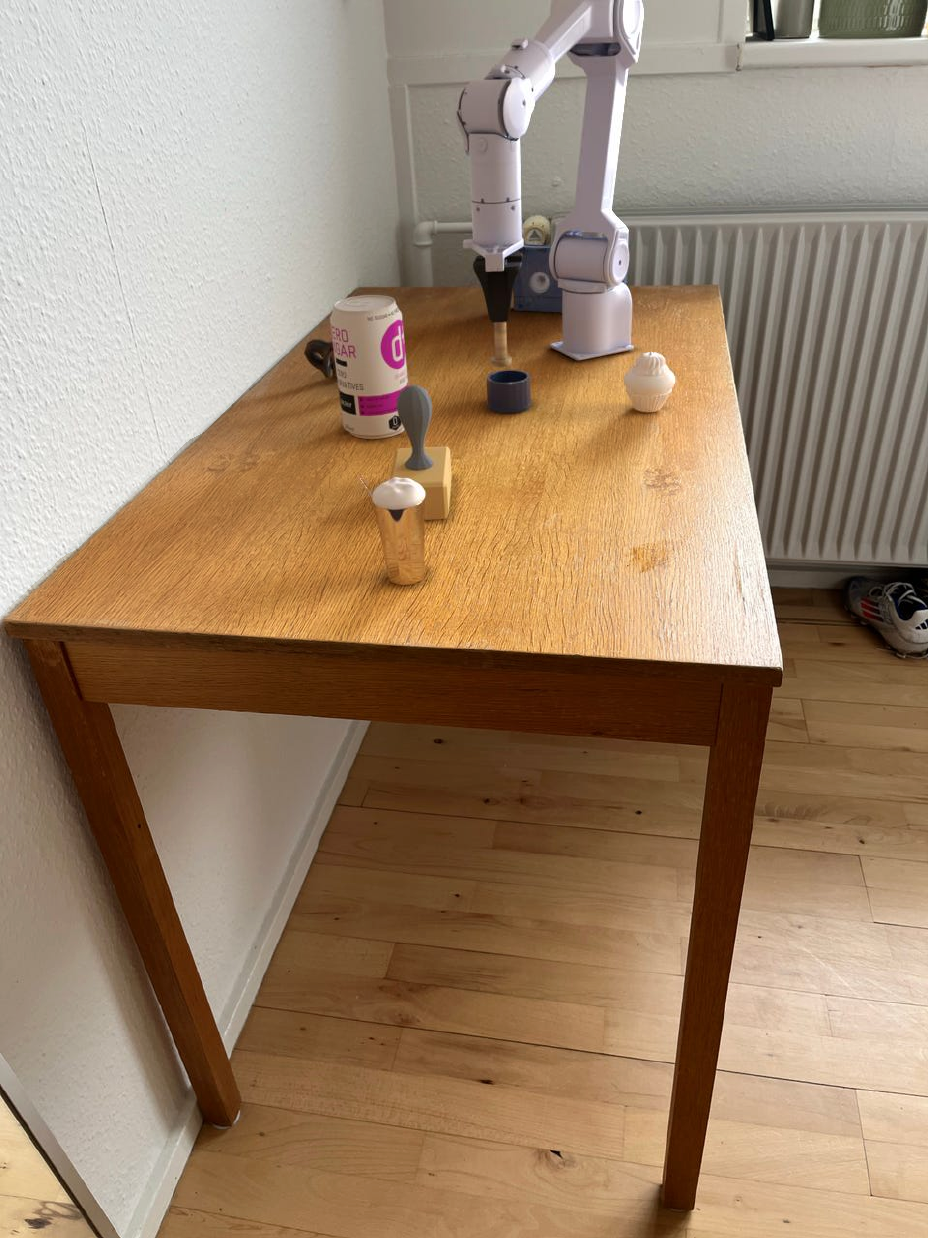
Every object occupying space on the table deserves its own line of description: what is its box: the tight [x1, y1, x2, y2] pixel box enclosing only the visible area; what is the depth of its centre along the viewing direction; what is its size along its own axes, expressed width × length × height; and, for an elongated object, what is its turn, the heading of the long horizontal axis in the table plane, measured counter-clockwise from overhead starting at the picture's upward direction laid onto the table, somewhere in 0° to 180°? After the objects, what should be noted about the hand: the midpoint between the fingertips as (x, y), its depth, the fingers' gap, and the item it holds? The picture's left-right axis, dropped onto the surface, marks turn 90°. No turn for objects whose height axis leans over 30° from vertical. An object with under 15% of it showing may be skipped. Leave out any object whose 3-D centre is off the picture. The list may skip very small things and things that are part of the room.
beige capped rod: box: [490, 322, 513, 369], centre depth 117 cm, size 3×3×8 cm
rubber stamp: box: [389, 384, 453, 521], centre depth 96 cm, size 10×6×12 cm, turn 179°
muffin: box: [623, 351, 676, 414], centre depth 115 cm, size 6×6×7 cm
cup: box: [485, 369, 532, 415], centre depth 119 cm, size 5×5×4 cm
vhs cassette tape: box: [512, 243, 628, 313], centre depth 153 cm, size 18×3×10 cm, turn 69°
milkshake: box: [359, 475, 426, 586], centre depth 83 cm, size 4×5×10 cm
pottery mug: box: [303, 338, 337, 379], centre depth 129 cm, size 12×10×8 cm
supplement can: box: [329, 294, 409, 440], centre depth 112 cm, size 8×8×15 cm
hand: (499, 319), depth 116 cm, fingers closed on beige capped rod
